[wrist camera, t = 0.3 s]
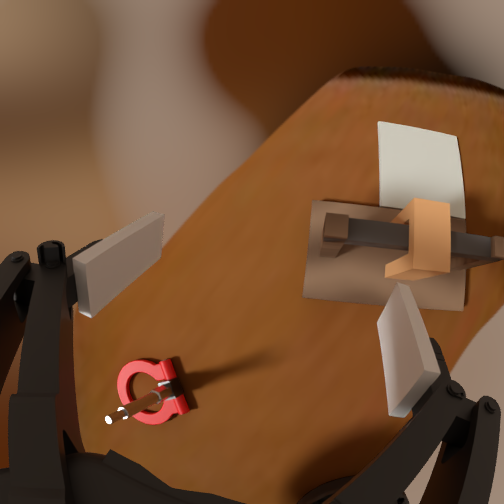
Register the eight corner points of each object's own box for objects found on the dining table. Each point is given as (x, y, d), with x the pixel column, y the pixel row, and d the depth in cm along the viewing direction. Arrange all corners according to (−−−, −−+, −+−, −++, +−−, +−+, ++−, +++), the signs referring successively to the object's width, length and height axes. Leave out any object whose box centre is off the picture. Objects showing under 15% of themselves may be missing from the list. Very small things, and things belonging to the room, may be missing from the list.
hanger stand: (457, 310, 27) (516, 312, 16) (302, 297, 31) (299, 295, 20) (460, 223, 29) (513, 191, 18) (312, 204, 32) (313, 156, 21)
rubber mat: (463, 219, 29) (465, 218, 28) (379, 207, 31) (380, 205, 30) (454, 138, 30) (456, 136, 30) (377, 123, 32) (378, 121, 32)
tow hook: (136, 424, 32) (195, 416, 31) (70, 460, 20) (135, 463, 18) (114, 365, 34) (170, 350, 33) (39, 383, 22) (97, 370, 20)
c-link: (413, 280, 25) (449, 272, 18) (384, 277, 26) (412, 268, 18) (415, 228, 26) (449, 203, 18) (387, 224, 27) (414, 197, 19)
